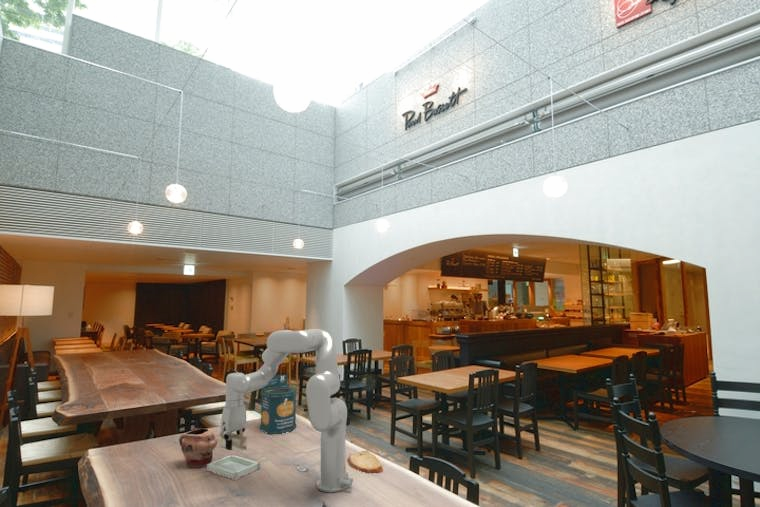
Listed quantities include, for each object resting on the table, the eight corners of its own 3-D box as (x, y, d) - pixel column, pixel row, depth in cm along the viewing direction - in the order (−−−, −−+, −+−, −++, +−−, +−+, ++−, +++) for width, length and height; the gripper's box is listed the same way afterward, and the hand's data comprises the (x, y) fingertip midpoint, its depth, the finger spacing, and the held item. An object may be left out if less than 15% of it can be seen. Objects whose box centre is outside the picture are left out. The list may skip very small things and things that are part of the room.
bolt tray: (259, 468, 165) (259, 462, 165) (234, 480, 154) (234, 473, 155) (231, 460, 175) (231, 454, 175) (206, 470, 164) (206, 464, 164)
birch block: (228, 444, 170) (228, 432, 171) (246, 449, 164) (246, 436, 165) (220, 447, 167) (220, 434, 168) (238, 452, 161) (238, 439, 161)
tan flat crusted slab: (381, 475, 157) (380, 465, 157) (339, 471, 161) (338, 462, 162) (391, 458, 174) (390, 449, 175) (352, 455, 179) (352, 446, 179)
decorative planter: (166, 467, 168) (168, 433, 170) (186, 456, 180) (188, 425, 182) (206, 471, 163) (207, 436, 165) (224, 460, 175) (225, 427, 177)
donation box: (286, 423, 228) (286, 374, 232) (299, 429, 216) (300, 377, 220) (259, 429, 218) (260, 377, 221) (272, 436, 206) (273, 381, 209)
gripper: (245, 397, 177) (243, 440, 175) (212, 406, 163) (210, 452, 161) (256, 399, 173) (255, 443, 171) (223, 408, 159) (221, 456, 157)
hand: (233, 447), depth 166 cm, fingers closed on birch block, 4 cm apart
